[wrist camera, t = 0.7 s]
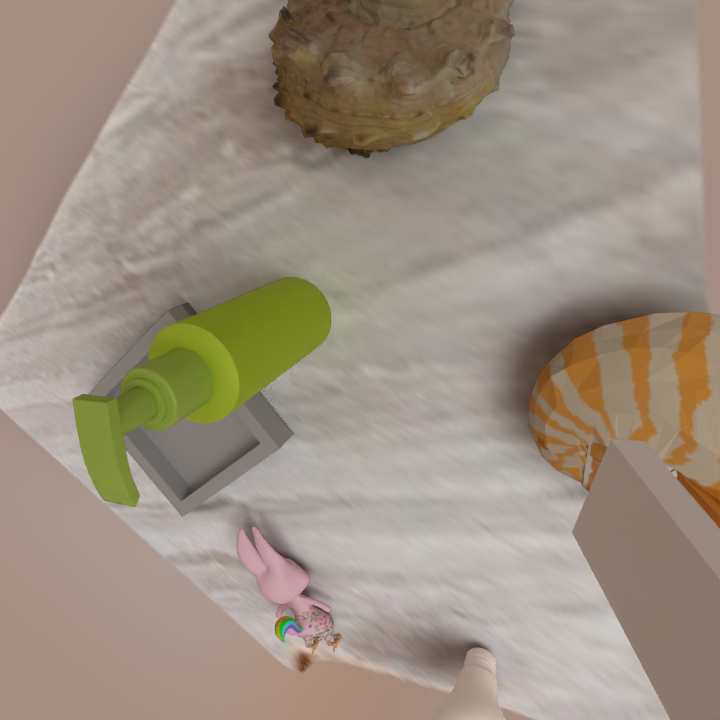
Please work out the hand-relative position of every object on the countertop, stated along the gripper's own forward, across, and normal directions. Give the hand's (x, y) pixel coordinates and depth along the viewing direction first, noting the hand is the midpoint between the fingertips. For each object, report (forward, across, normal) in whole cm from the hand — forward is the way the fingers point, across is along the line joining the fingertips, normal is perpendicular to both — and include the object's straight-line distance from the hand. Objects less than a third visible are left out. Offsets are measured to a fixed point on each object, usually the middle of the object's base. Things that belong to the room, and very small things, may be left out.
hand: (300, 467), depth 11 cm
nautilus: (+18, +24, -11) cm, 32 cm away
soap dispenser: (+28, -2, -9) cm, 30 cm away
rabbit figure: (+26, 0, -34) cm, 43 cm away
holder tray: (+31, -10, -20) cm, 38 cm away
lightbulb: (+19, +17, -34) cm, 43 cm away
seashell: (+28, +4, +9) cm, 30 cm away
